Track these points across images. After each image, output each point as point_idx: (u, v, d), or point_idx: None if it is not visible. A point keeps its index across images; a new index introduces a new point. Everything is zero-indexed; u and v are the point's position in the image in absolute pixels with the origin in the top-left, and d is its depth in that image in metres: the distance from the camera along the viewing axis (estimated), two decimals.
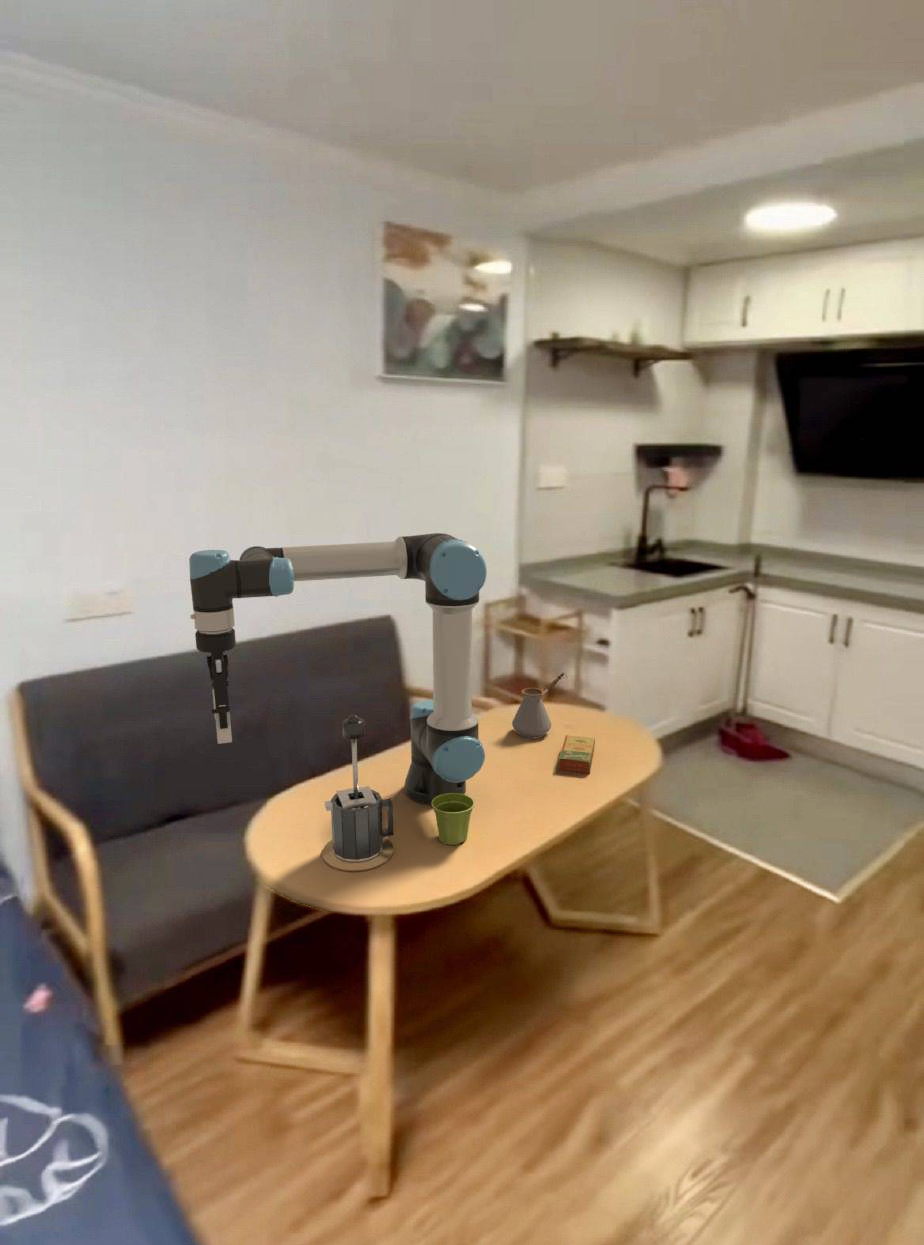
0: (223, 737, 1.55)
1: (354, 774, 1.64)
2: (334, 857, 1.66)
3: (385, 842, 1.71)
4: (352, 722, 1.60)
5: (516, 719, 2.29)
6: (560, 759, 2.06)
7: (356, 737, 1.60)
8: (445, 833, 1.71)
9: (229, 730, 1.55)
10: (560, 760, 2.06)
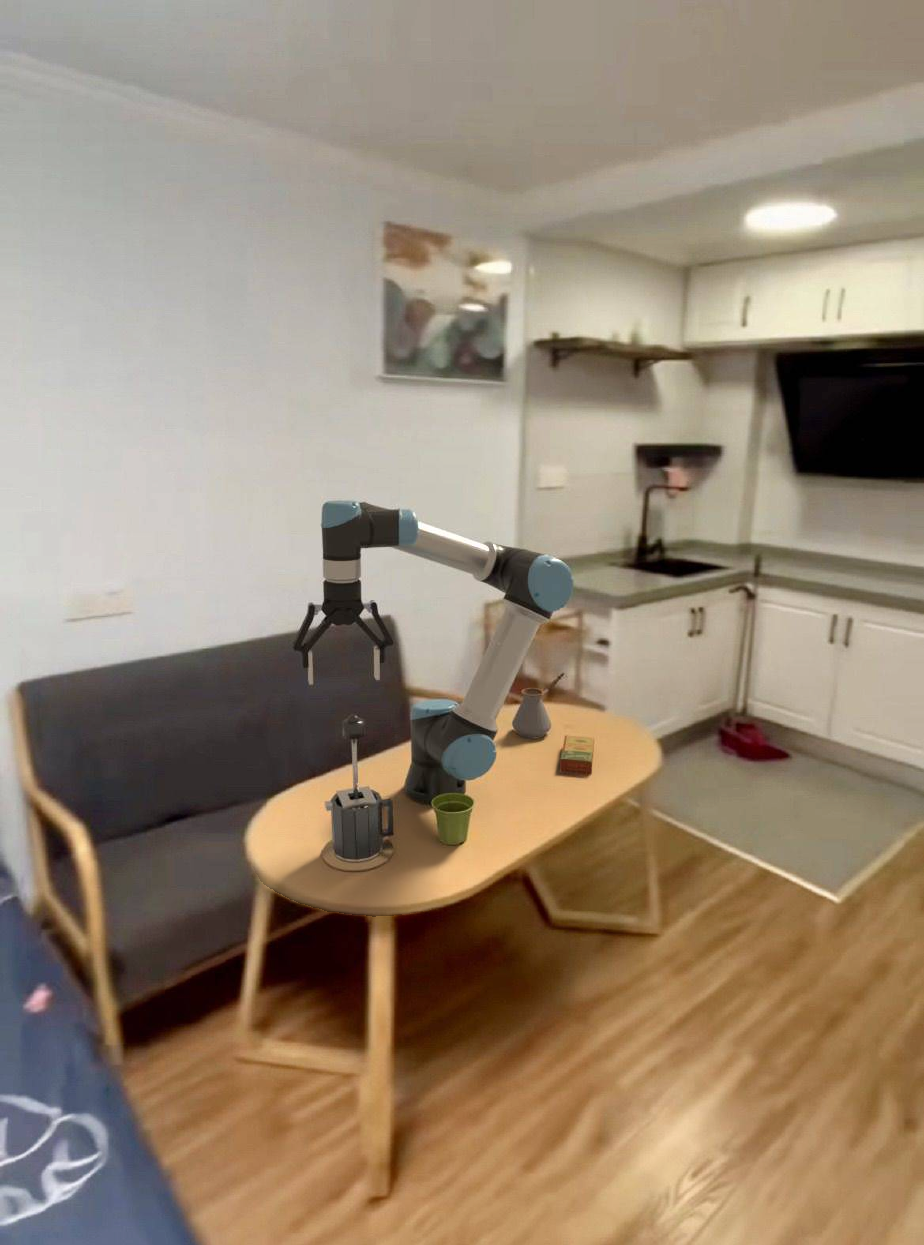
0: (308, 676, 1.62)
1: (354, 774, 1.64)
2: (334, 857, 1.66)
3: (385, 842, 1.71)
4: (352, 722, 1.60)
5: (516, 719, 2.29)
6: (562, 759, 2.06)
7: (356, 737, 1.60)
8: (445, 833, 1.71)
9: (308, 672, 1.60)
10: (562, 760, 2.06)
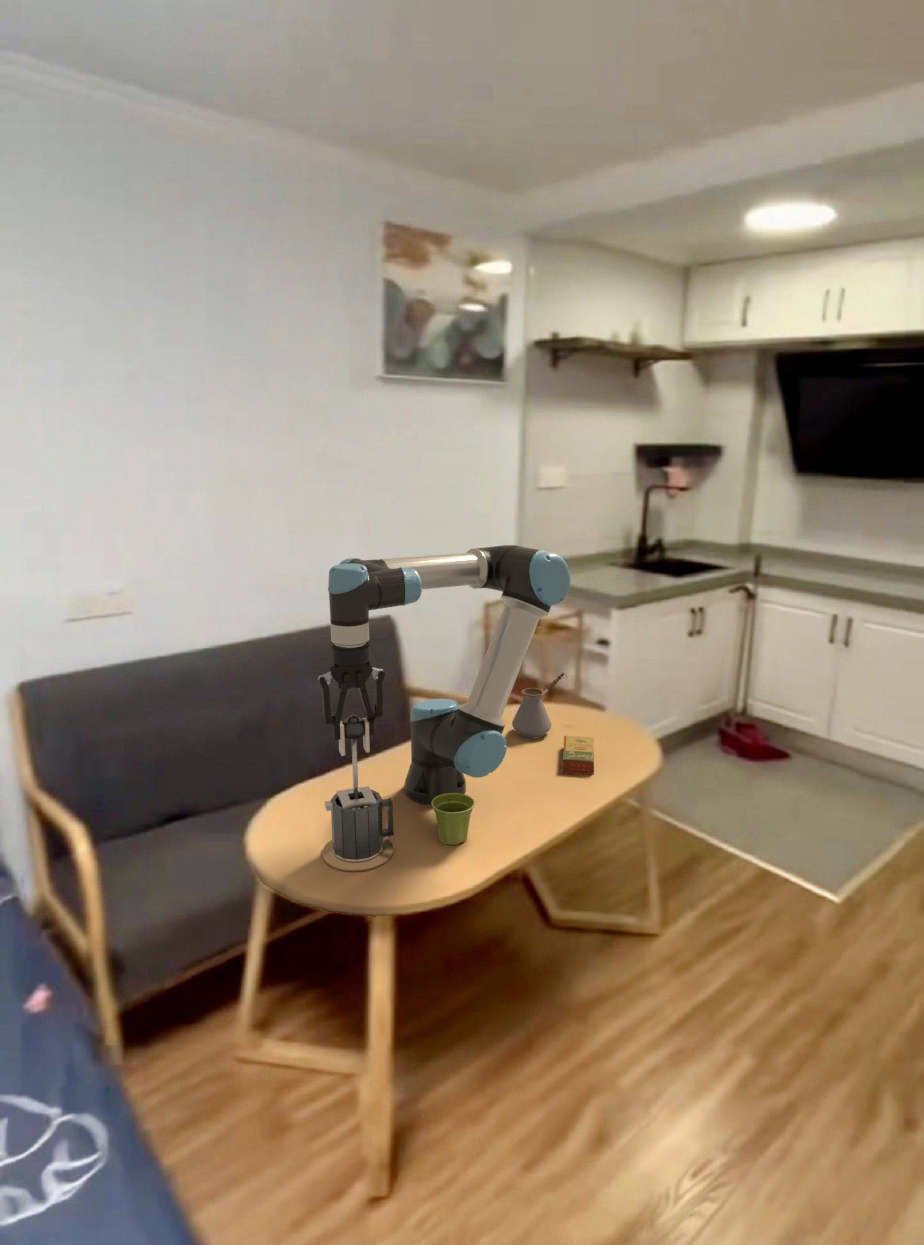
0: (339, 747, 1.62)
1: (354, 774, 1.64)
2: (334, 857, 1.66)
3: (385, 842, 1.71)
4: (352, 722, 1.60)
5: (516, 719, 2.29)
6: (564, 760, 2.06)
7: (356, 737, 1.60)
8: (445, 833, 1.71)
9: (340, 744, 1.60)
10: (564, 761, 2.06)
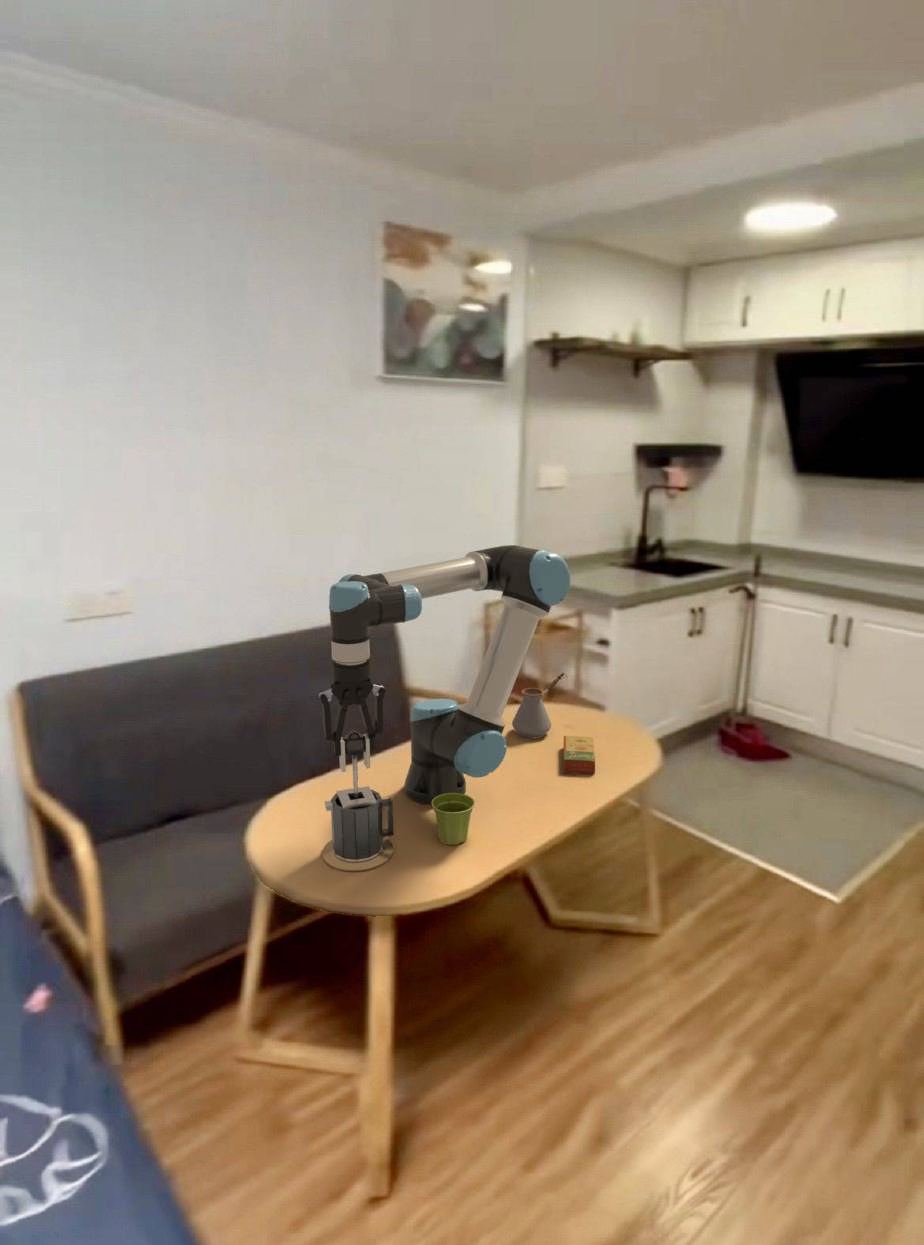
0: (340, 763, 1.63)
1: (355, 790, 1.65)
2: (334, 857, 1.66)
3: (385, 842, 1.71)
4: (353, 738, 1.61)
5: (516, 719, 2.29)
6: (565, 760, 2.06)
7: (357, 753, 1.61)
8: (445, 833, 1.71)
9: (341, 760, 1.61)
10: (565, 761, 2.06)
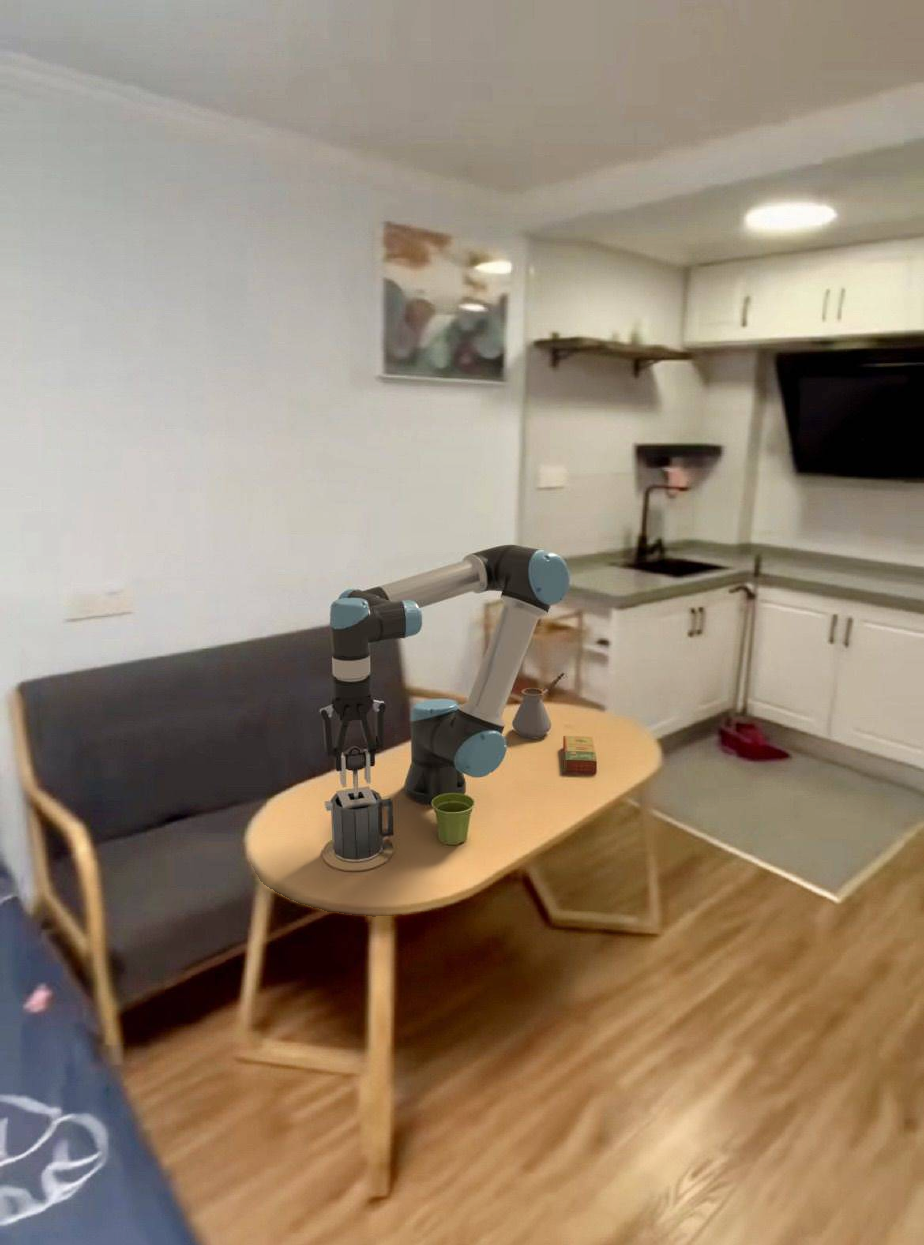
0: (341, 778, 1.64)
1: None
2: (334, 857, 1.66)
3: (385, 842, 1.71)
4: (353, 754, 1.62)
5: (516, 719, 2.29)
6: (567, 760, 2.06)
7: (357, 769, 1.62)
8: (445, 833, 1.71)
9: (342, 775, 1.62)
10: (567, 761, 2.06)
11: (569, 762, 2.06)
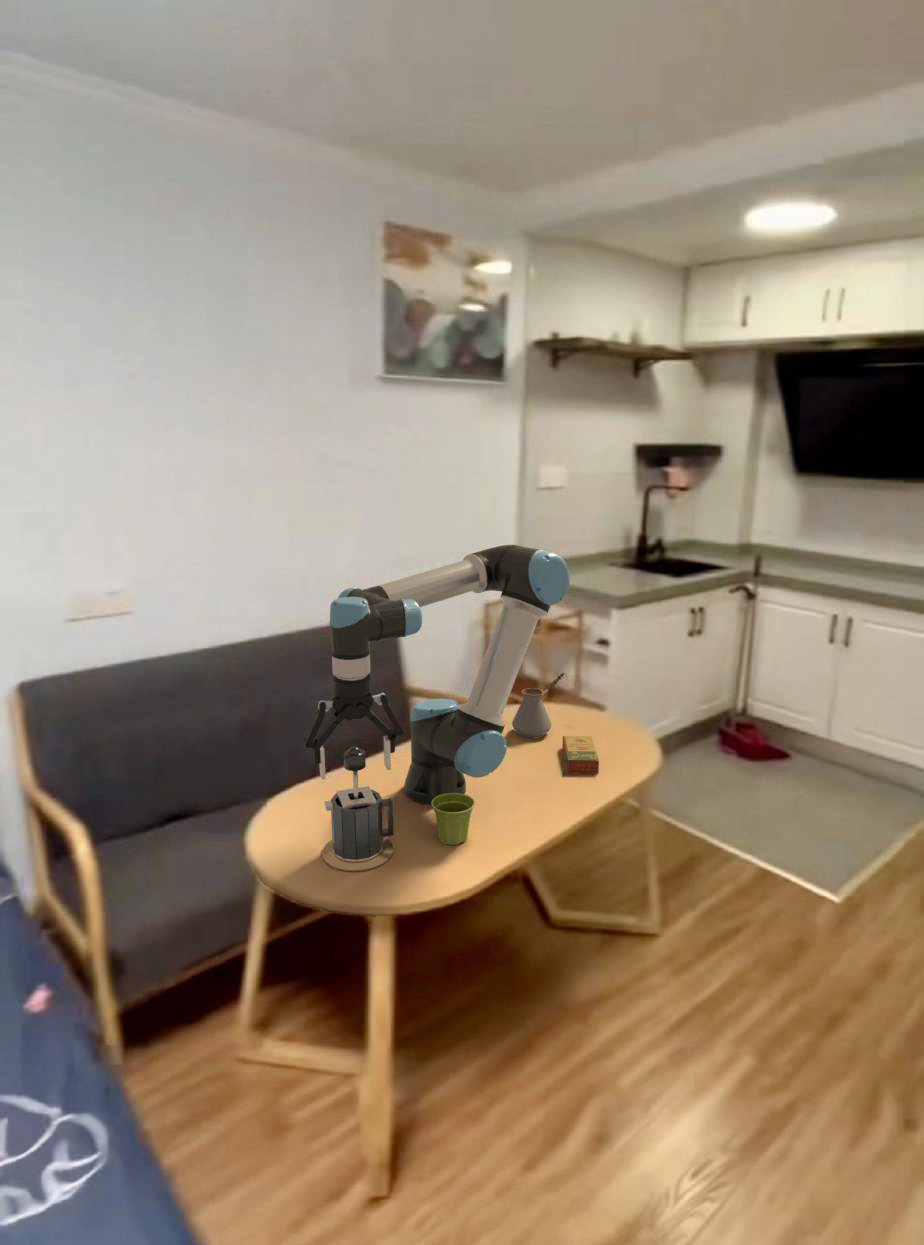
0: (320, 771, 1.62)
1: None
2: (334, 857, 1.66)
3: (385, 842, 1.71)
4: (353, 754, 1.62)
5: (516, 719, 2.29)
6: (569, 760, 2.05)
7: (357, 769, 1.62)
8: (445, 833, 1.71)
9: (321, 767, 1.60)
10: (569, 761, 2.05)
11: (571, 762, 2.05)
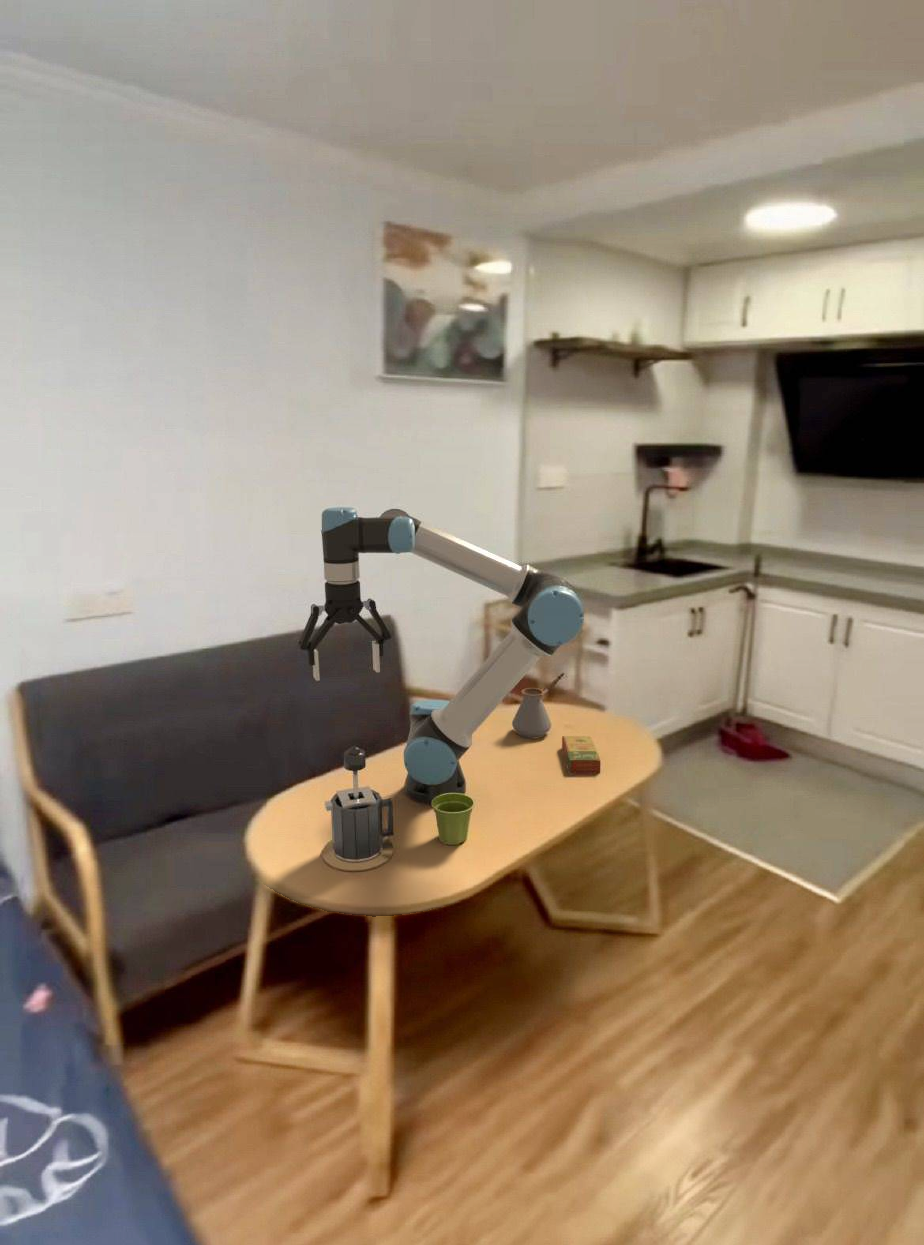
0: (314, 673, 1.72)
1: None
2: (334, 857, 1.66)
3: (385, 842, 1.71)
4: (353, 754, 1.62)
5: (516, 719, 2.29)
6: (571, 761, 2.05)
7: (357, 769, 1.62)
8: (445, 833, 1.71)
9: (315, 669, 1.71)
10: (571, 762, 2.05)
11: (573, 762, 2.05)
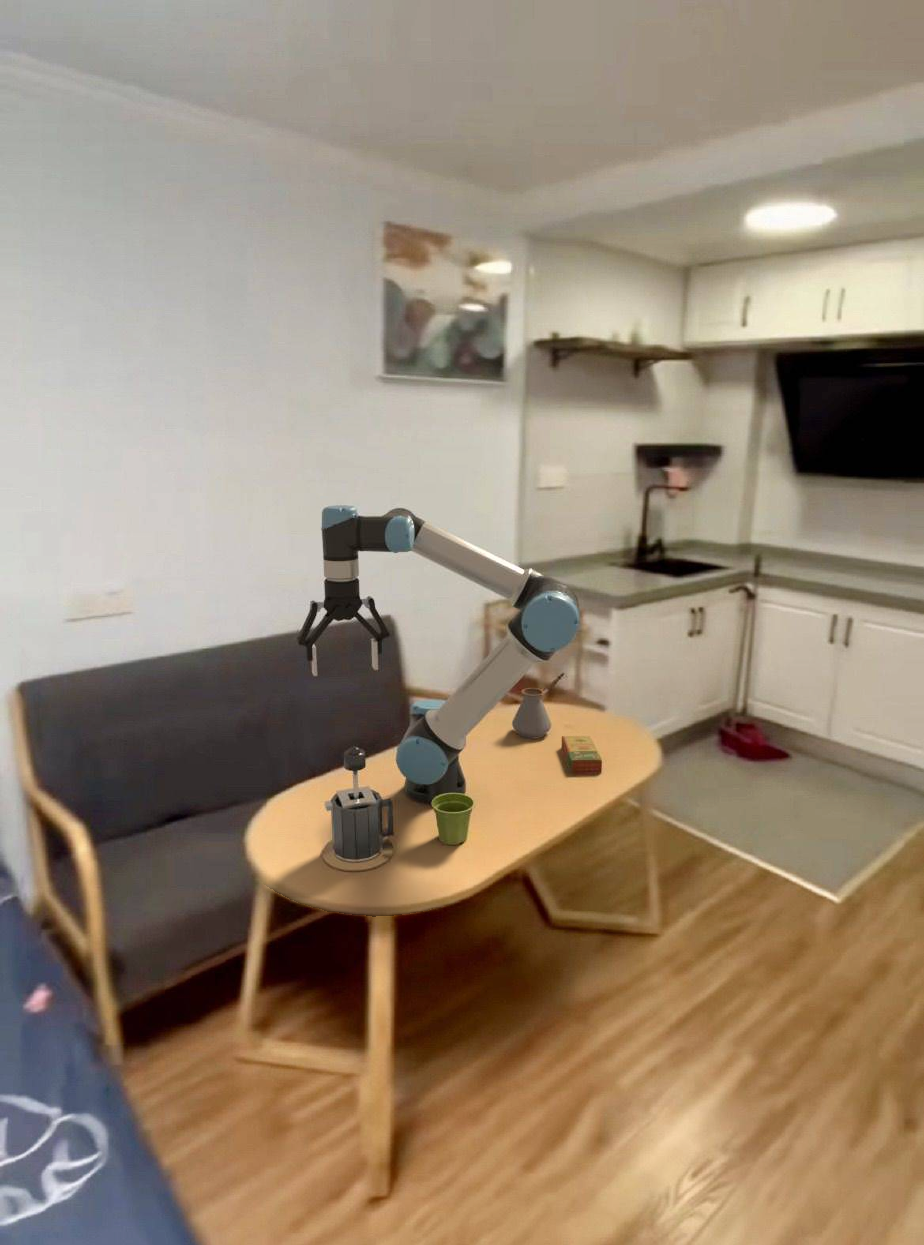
0: (312, 669, 1.75)
1: None
2: (334, 857, 1.66)
3: (385, 842, 1.71)
4: (353, 754, 1.62)
5: (516, 719, 2.29)
6: (573, 761, 2.05)
7: (357, 769, 1.62)
8: (445, 833, 1.71)
9: (313, 665, 1.73)
10: (573, 762, 2.05)
11: (575, 762, 2.05)
